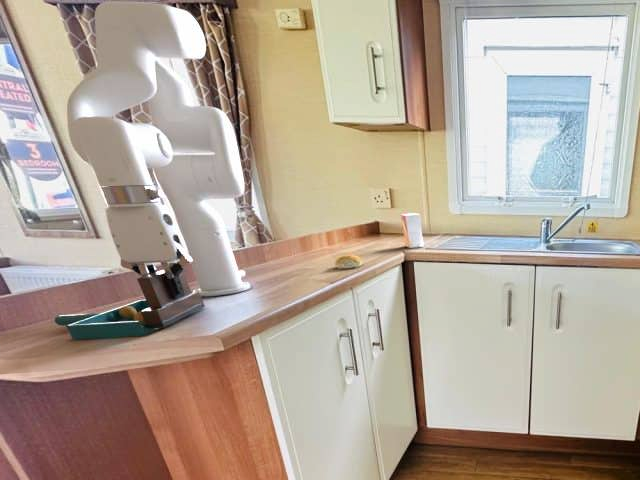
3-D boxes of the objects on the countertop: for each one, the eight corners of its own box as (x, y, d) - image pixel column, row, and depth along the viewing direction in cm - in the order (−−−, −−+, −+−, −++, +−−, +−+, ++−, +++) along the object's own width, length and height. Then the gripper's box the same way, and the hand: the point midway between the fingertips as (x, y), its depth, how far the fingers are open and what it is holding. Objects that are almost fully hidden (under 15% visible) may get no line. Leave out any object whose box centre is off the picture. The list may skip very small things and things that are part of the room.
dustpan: (202, 308, 94) (198, 296, 93) (144, 335, 77) (138, 321, 76) (97, 314, 93) (91, 302, 92) (14, 343, 76) (6, 329, 75)
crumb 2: (136, 317, 83) (144, 307, 83) (151, 327, 84) (159, 317, 84) (127, 320, 80) (135, 310, 80) (142, 330, 81) (150, 320, 81)
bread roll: (363, 263, 144) (360, 251, 143) (360, 268, 137) (358, 255, 135) (337, 265, 143) (335, 253, 141) (333, 269, 135) (330, 257, 133)
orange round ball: (131, 301, 87) (143, 312, 88) (122, 307, 88) (134, 318, 89) (121, 307, 85) (134, 318, 86) (112, 313, 85) (125, 324, 87)
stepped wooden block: (190, 307, 92) (174, 265, 88) (205, 306, 92) (189, 264, 88) (147, 328, 79) (126, 281, 75) (164, 327, 80) (143, 280, 76)
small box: (404, 246, 184) (400, 214, 178) (419, 244, 187) (415, 213, 181) (409, 248, 178) (405, 215, 172) (424, 246, 180) (420, 214, 174)
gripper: (190, 195, 80) (222, 291, 88) (101, 199, 79) (141, 296, 87) (165, 196, 73) (202, 300, 81) (66, 200, 72) (114, 305, 80)
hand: (170, 297), depth 84 cm, fingers closed on stepped wooden block, 2 cm apart
